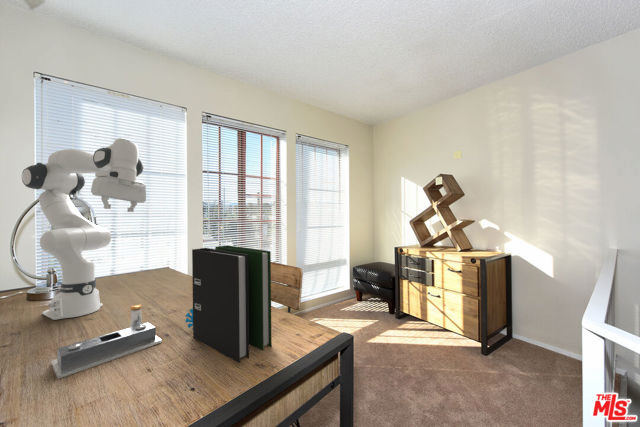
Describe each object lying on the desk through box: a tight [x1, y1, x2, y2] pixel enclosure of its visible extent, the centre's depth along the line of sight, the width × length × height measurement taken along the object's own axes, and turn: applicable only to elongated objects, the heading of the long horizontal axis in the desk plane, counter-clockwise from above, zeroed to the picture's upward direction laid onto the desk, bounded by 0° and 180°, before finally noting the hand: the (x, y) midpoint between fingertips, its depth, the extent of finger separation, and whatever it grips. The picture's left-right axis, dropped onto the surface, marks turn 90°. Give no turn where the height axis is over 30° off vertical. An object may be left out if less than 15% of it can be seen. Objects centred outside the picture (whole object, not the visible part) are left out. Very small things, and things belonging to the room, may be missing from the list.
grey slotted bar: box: [51, 322, 163, 380], centre depth 86 cm, size 26×12×6 cm, turn 141°
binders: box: [191, 245, 273, 364], centre depth 93 cm, size 27×15×32 cm, turn 51°
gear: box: [184, 308, 193, 329], centre depth 105 cm, size 11×6×10 cm
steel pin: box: [129, 304, 143, 327], centre depth 101 cm, size 4×4×10 cm
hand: (119, 210), depth 108 cm, fingers open, 8 cm apart
